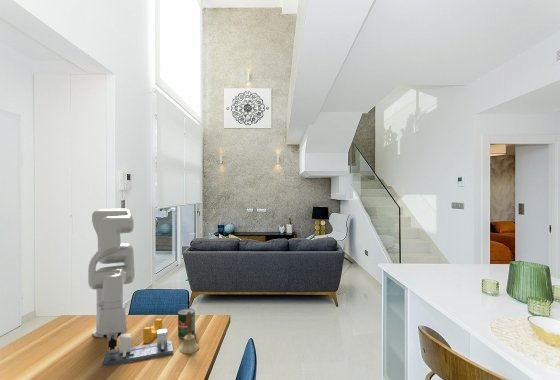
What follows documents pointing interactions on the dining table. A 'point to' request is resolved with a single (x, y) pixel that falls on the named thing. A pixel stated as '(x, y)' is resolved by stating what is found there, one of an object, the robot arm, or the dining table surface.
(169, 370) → the dining table surface
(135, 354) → the plate
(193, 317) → the canned tomato
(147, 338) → the pipe clamp
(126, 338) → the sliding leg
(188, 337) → the hand bell
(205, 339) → the dining table surface
